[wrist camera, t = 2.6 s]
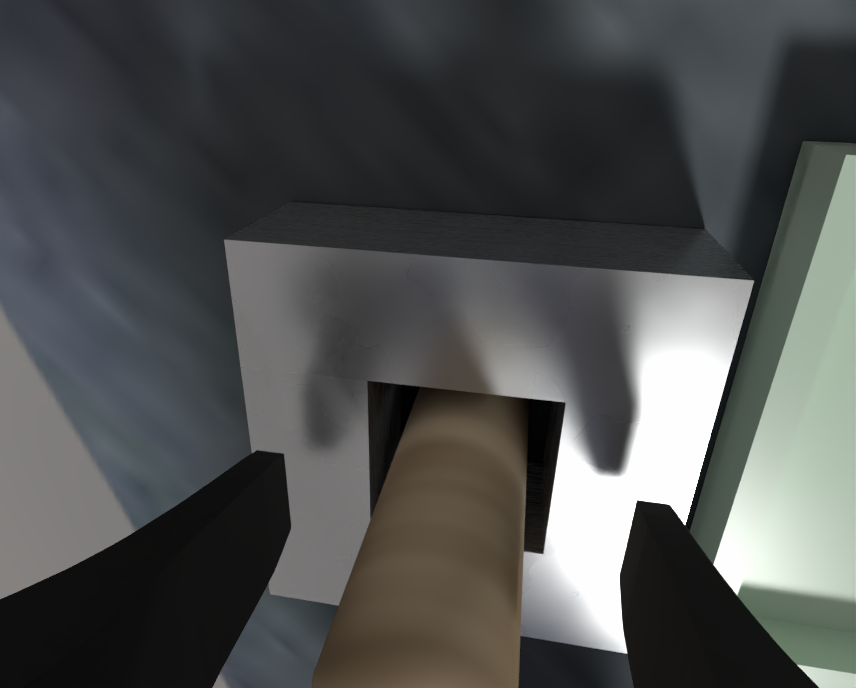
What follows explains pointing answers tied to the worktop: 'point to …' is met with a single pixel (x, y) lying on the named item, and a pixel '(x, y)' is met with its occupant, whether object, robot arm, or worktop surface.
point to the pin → (440, 555)
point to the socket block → (485, 376)
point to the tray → (796, 432)
